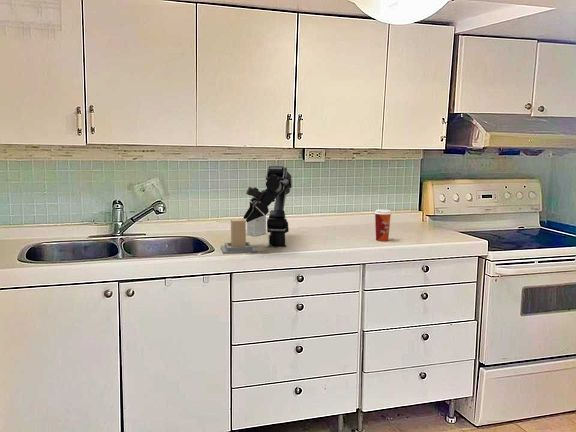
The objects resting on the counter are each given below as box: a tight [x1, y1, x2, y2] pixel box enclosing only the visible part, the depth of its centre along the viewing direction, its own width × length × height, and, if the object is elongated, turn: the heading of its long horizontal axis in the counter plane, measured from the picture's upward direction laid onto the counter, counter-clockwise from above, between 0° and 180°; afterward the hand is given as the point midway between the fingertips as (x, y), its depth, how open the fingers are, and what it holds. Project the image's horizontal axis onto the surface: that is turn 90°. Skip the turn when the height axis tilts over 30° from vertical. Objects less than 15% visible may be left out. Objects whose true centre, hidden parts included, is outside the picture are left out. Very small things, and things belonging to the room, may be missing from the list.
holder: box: [220, 241, 258, 255], centre depth 239 cm, size 14×12×2 cm
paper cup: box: [374, 208, 392, 242], centre depth 261 cm, size 8×8×14 cm
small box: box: [246, 213, 267, 237], centre depth 274 cm, size 8×6×10 cm
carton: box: [230, 218, 247, 247], centre depth 238 cm, size 6×6×12 cm
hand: (245, 219), depth 238 cm, fingers open, 9 cm apart
